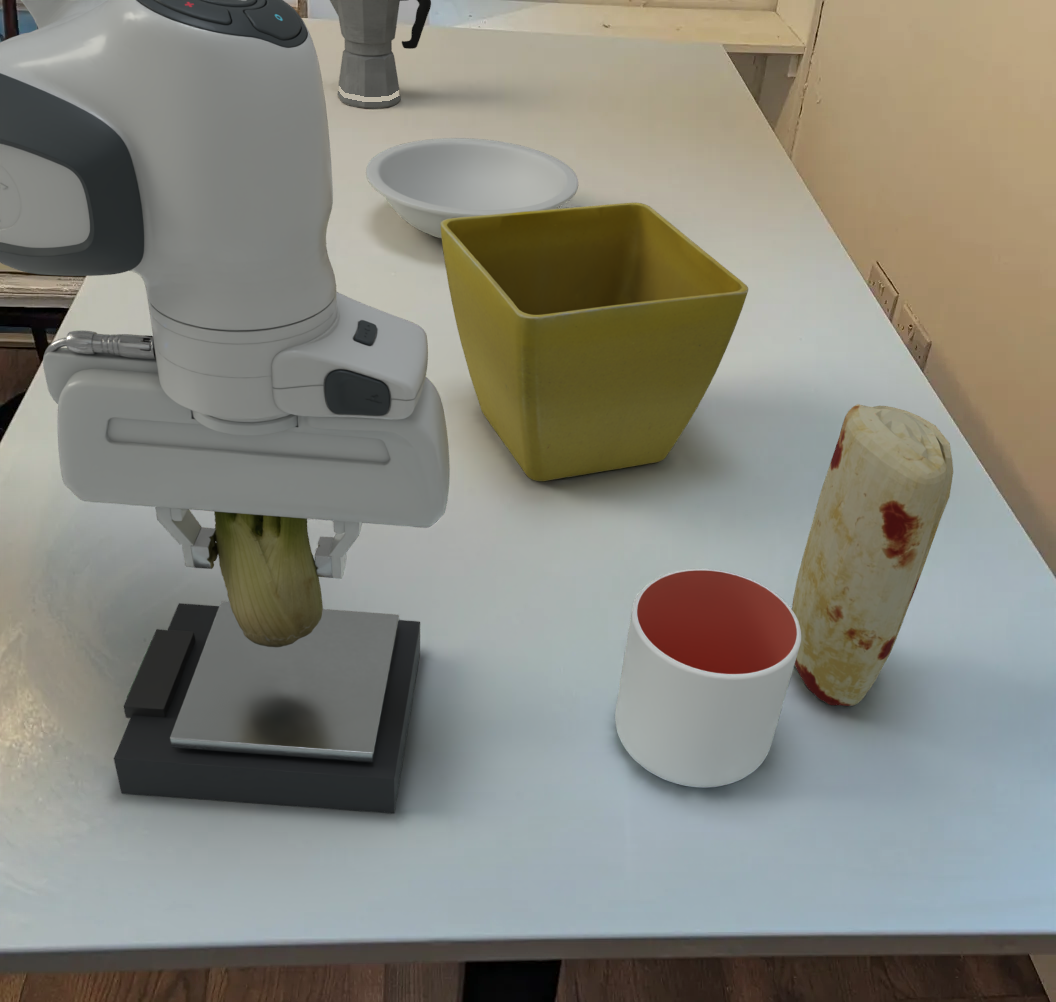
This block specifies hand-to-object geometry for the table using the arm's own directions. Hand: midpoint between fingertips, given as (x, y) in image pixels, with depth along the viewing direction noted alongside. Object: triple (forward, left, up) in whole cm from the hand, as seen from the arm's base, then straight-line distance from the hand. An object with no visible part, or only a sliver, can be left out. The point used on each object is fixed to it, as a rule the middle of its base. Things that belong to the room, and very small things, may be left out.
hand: (267, 567), depth 67 cm
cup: (+26, +1, -12) cm, 29 cm away
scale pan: (+1, 0, -9) cm, 9 cm away
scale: (0, 0, -12) cm, 12 cm away
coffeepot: (-11, +127, -12) cm, 128 cm away
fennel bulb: (0, 0, -5) cm, 5 cm away
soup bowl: (+6, +81, -12) cm, 82 cm away
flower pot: (+18, +37, -12) cm, 43 cm away
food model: (+36, +8, -12) cm, 39 cm away
